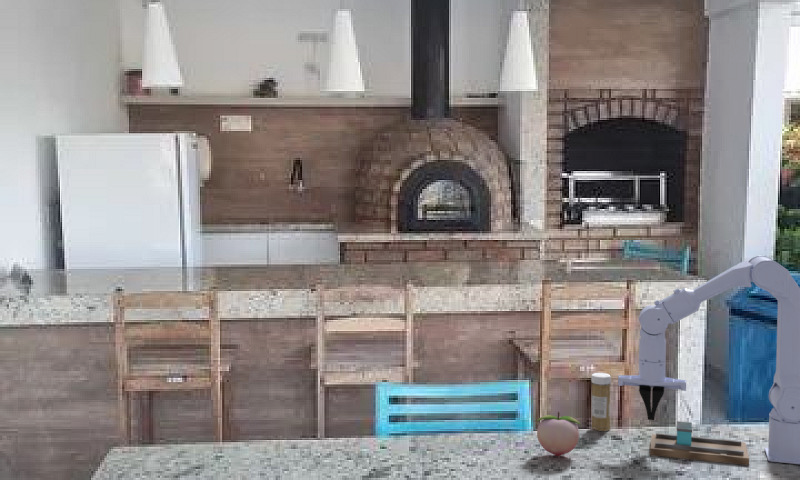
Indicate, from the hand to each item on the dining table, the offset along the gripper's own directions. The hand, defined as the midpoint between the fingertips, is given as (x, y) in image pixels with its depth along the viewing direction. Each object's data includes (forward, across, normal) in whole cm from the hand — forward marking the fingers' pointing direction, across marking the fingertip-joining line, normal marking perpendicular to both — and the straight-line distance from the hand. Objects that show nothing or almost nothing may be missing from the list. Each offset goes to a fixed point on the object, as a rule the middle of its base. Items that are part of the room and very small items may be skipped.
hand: (651, 418), depth 179 cm
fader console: (+7, -10, 0) cm, 12 cm away
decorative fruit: (+7, +19, +12) cm, 23 cm away
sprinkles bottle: (+7, +12, -10) cm, 17 cm away
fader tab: (+5, -7, 0) cm, 9 cm away
